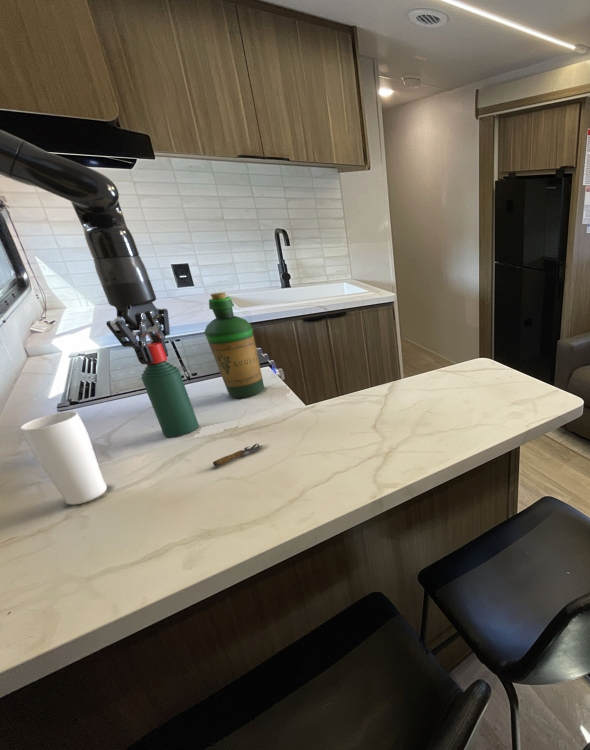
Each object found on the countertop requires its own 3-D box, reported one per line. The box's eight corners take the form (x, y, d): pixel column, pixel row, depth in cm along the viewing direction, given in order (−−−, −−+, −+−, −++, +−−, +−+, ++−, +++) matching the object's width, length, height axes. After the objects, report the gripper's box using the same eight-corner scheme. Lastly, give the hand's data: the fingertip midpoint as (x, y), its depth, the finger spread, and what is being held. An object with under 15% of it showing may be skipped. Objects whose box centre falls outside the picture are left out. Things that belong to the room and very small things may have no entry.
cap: (158, 363, 86) (151, 346, 84) (139, 365, 86) (132, 348, 84) (171, 358, 89) (165, 341, 88) (153, 359, 89) (147, 343, 88)
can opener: (215, 468, 77) (213, 462, 76) (211, 464, 78) (210, 458, 78) (265, 448, 83) (264, 443, 83) (261, 444, 84) (259, 439, 84)
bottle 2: (226, 404, 107) (192, 298, 97) (224, 392, 115) (192, 294, 105) (271, 393, 112) (243, 292, 102) (266, 383, 120) (239, 289, 111)
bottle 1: (162, 440, 89) (127, 353, 82) (165, 429, 94) (133, 347, 87) (198, 430, 92) (167, 347, 85) (199, 421, 97) (171, 341, 91)
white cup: (100, 481, 75) (65, 409, 69) (121, 488, 72) (87, 413, 67) (52, 504, 69) (9, 426, 63) (73, 512, 66) (31, 432, 61)
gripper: (115, 283, 75) (148, 369, 81) (169, 275, 88) (194, 349, 94) (74, 286, 75) (110, 372, 81) (133, 277, 88) (161, 352, 94)
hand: (155, 359), depth 87 cm, fingers closed on cap, 4 cm apart
